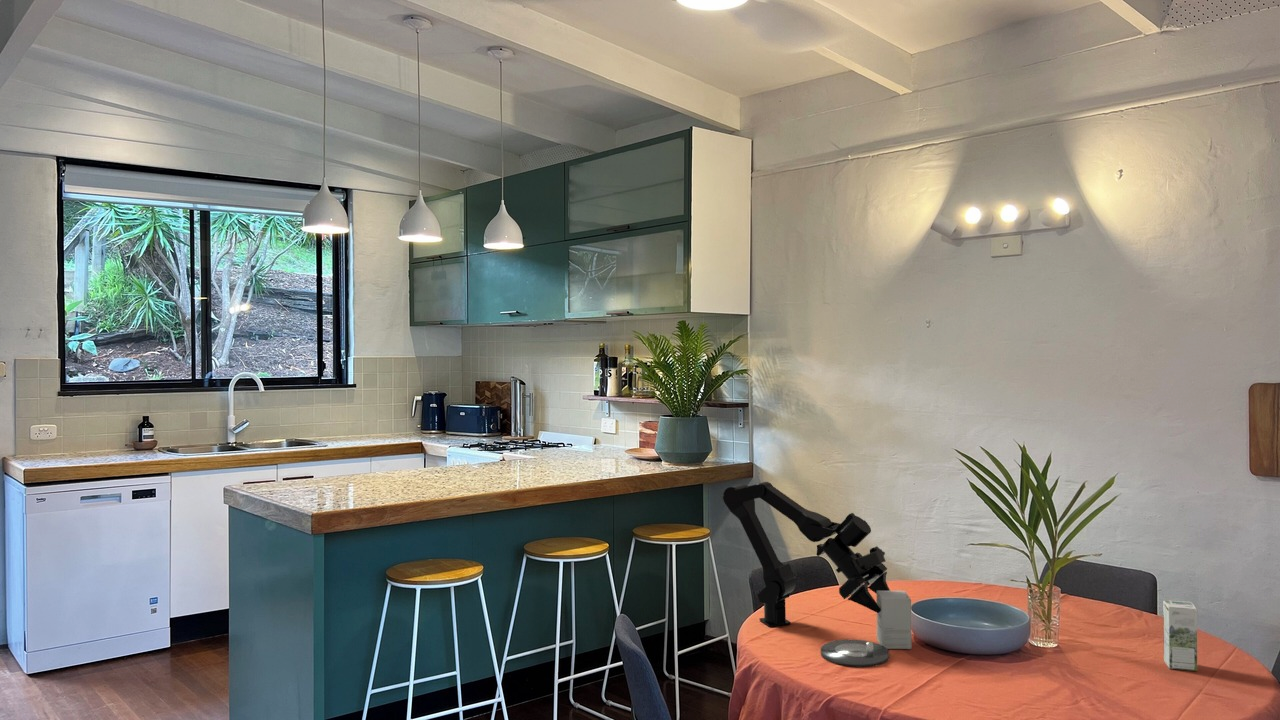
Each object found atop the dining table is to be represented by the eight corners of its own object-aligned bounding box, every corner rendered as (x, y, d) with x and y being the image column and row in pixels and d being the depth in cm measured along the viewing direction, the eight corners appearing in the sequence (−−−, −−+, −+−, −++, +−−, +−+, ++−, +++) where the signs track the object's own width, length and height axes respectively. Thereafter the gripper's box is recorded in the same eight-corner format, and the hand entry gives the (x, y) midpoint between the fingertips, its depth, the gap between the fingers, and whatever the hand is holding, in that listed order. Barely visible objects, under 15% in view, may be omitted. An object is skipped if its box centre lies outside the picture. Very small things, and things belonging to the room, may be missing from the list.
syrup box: (1191, 663, 207) (1190, 600, 207) (1198, 672, 202) (1197, 607, 201) (1163, 660, 209) (1162, 598, 209) (1169, 669, 204) (1168, 605, 203)
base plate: (807, 651, 220) (806, 633, 220) (856, 640, 228) (855, 622, 228) (852, 671, 206) (852, 652, 206) (903, 658, 214) (903, 639, 214)
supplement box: (905, 639, 228) (905, 590, 227) (911, 649, 220) (911, 598, 220) (876, 639, 228) (875, 589, 228) (881, 649, 221) (881, 598, 221)
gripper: (849, 545, 221) (894, 596, 214) (878, 531, 236) (921, 579, 229) (820, 573, 225) (863, 624, 219) (851, 558, 240) (892, 605, 234)
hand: (886, 607), depth 225 cm, fingers open, 9 cm apart
